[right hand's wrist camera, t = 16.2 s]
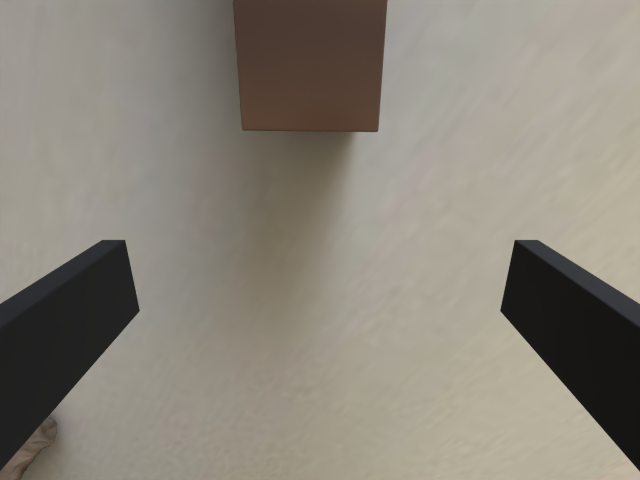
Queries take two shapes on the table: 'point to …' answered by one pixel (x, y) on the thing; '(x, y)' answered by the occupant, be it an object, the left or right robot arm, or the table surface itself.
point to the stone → (29, 450)
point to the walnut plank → (310, 64)
